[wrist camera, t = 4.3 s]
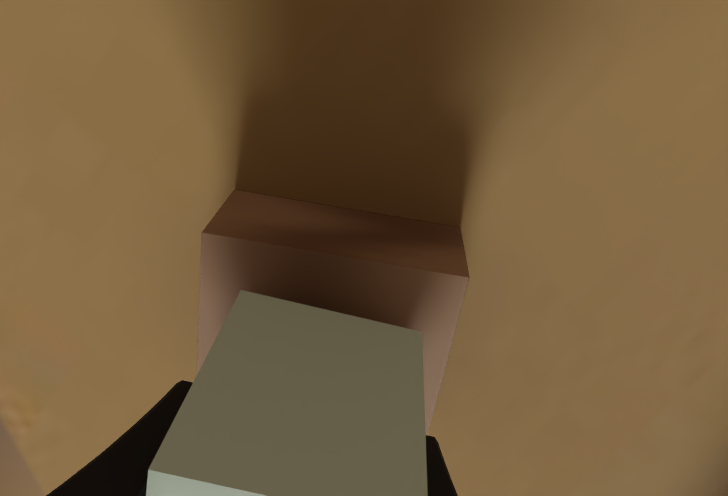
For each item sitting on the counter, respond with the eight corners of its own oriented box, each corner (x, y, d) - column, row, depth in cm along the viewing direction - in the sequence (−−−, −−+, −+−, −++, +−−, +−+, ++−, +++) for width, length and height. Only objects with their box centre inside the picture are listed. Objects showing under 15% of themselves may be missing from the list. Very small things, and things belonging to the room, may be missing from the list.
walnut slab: (459, 223, 16) (469, 277, 13) (416, 397, 18) (417, 472, 16) (237, 185, 16) (201, 232, 13) (226, 365, 18) (194, 434, 16)
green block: (422, 331, 13) (428, 531, 8) (379, 463, 15) (365, 687, 10) (240, 289, 13) (148, 469, 8) (219, 428, 14) (133, 638, 10)
